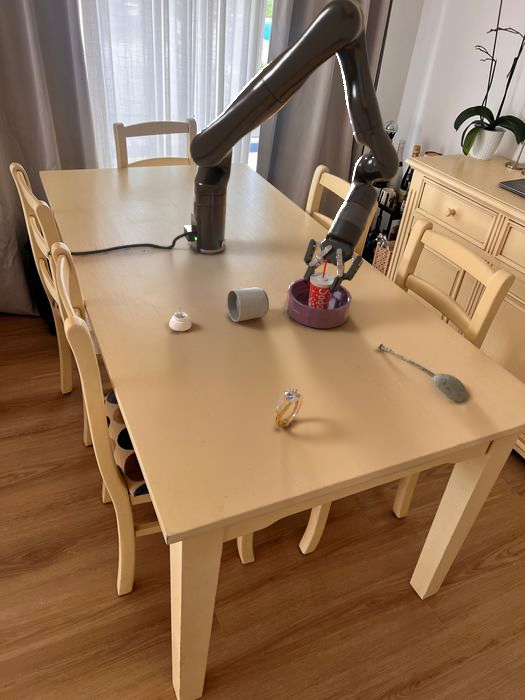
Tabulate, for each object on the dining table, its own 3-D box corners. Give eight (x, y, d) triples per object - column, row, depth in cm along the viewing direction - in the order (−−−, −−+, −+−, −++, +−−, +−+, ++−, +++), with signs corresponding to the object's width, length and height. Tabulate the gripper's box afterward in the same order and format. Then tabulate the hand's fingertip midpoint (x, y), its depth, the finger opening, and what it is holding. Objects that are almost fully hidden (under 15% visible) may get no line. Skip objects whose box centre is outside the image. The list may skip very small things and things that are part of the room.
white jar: (195, 326, 118) (180, 317, 121) (196, 315, 117) (180, 307, 119) (179, 335, 115) (164, 325, 118) (179, 324, 113) (164, 315, 116)
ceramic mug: (269, 321, 123) (272, 293, 118) (238, 328, 119) (240, 299, 115) (249, 300, 130) (252, 273, 126) (220, 305, 127) (221, 277, 122)
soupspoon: (455, 409, 105) (470, 397, 109) (462, 397, 103) (476, 385, 107) (370, 353, 116) (386, 344, 120) (374, 341, 114) (391, 332, 118)
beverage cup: (303, 314, 126) (312, 263, 117) (306, 301, 131) (314, 251, 122) (328, 318, 125) (338, 267, 117) (330, 305, 130) (340, 255, 122)
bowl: (302, 334, 120) (306, 314, 117) (275, 300, 131) (278, 281, 128) (358, 324, 126) (363, 305, 122) (328, 292, 137) (331, 274, 133)
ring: (292, 411, 99) (297, 380, 94) (304, 420, 97) (310, 389, 93) (266, 428, 95) (271, 396, 90) (279, 438, 93) (284, 406, 88)
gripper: (319, 210, 123) (288, 271, 122) (374, 227, 117) (343, 292, 116) (325, 224, 130) (296, 282, 129) (378, 241, 124) (348, 303, 123)
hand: (318, 287), depth 122 cm, fingers closed on beverage cup, 6 cm apart
